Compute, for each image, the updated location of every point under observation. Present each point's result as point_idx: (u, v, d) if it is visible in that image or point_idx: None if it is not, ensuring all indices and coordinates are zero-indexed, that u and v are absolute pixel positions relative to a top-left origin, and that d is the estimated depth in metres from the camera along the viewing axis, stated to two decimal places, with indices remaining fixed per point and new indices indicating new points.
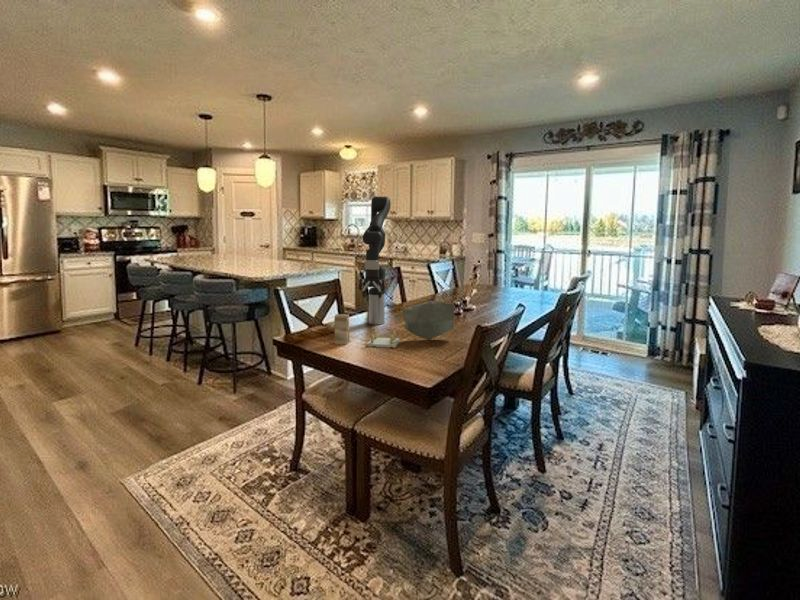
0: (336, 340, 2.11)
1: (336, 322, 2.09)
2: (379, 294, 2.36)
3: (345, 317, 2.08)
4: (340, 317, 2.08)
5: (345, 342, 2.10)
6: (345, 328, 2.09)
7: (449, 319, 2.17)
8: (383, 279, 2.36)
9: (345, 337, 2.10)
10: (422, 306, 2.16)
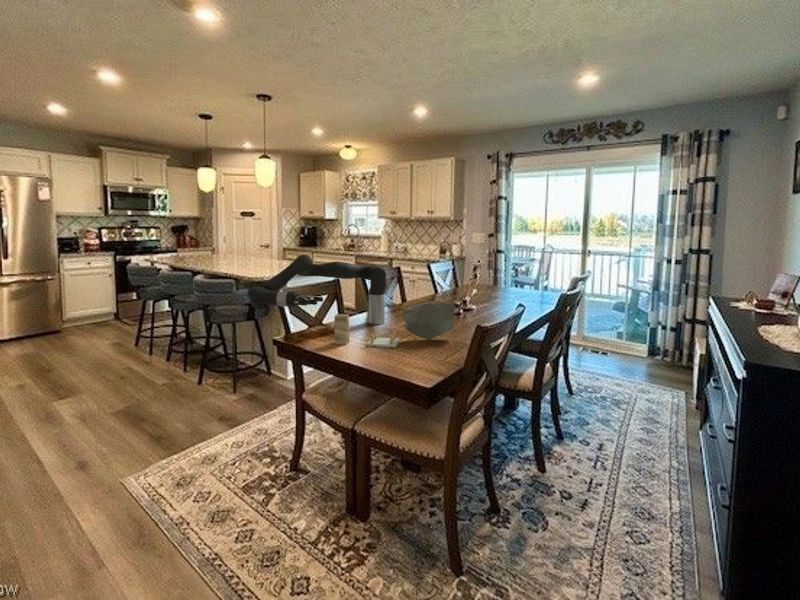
0: (336, 340, 2.11)
1: (336, 322, 2.09)
2: (312, 304, 2.06)
3: (345, 317, 2.08)
4: (340, 317, 2.08)
5: (345, 342, 2.10)
6: (345, 328, 2.09)
7: (449, 319, 2.17)
8: None
9: (345, 337, 2.10)
10: (422, 306, 2.16)
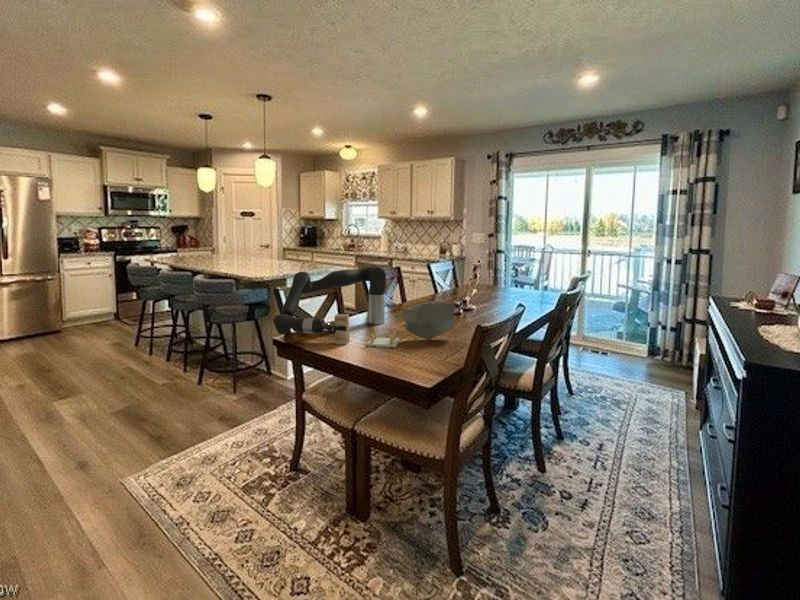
0: (336, 340, 2.11)
1: (336, 322, 2.09)
2: (341, 330, 2.09)
3: (345, 317, 2.08)
4: (340, 317, 2.08)
5: (345, 342, 2.10)
6: None
7: (449, 319, 2.17)
8: (323, 329, 2.06)
9: (345, 337, 2.10)
10: (422, 306, 2.16)
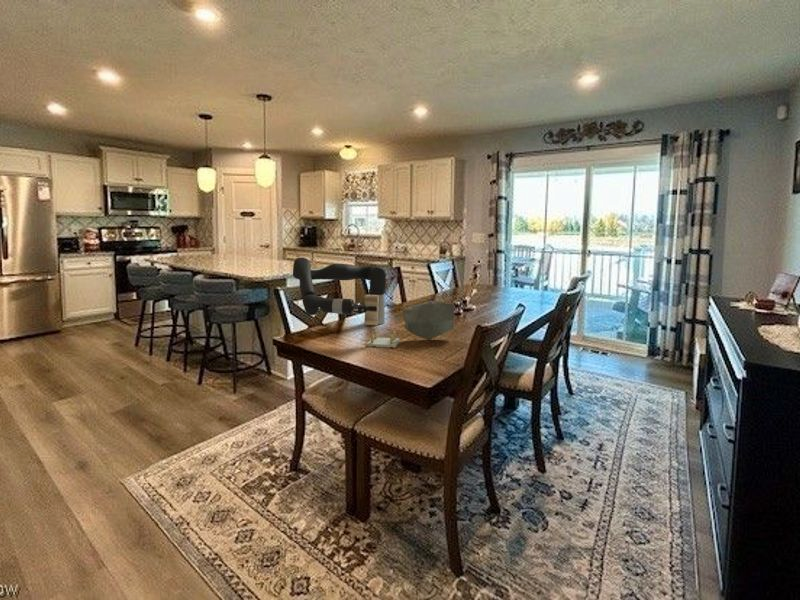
0: (366, 321, 2.09)
1: (366, 302, 2.07)
2: None
3: (375, 297, 2.06)
4: (370, 297, 2.06)
5: (375, 323, 2.08)
6: None
7: (449, 319, 2.17)
8: (353, 309, 2.04)
9: (375, 317, 2.08)
10: (422, 306, 2.16)
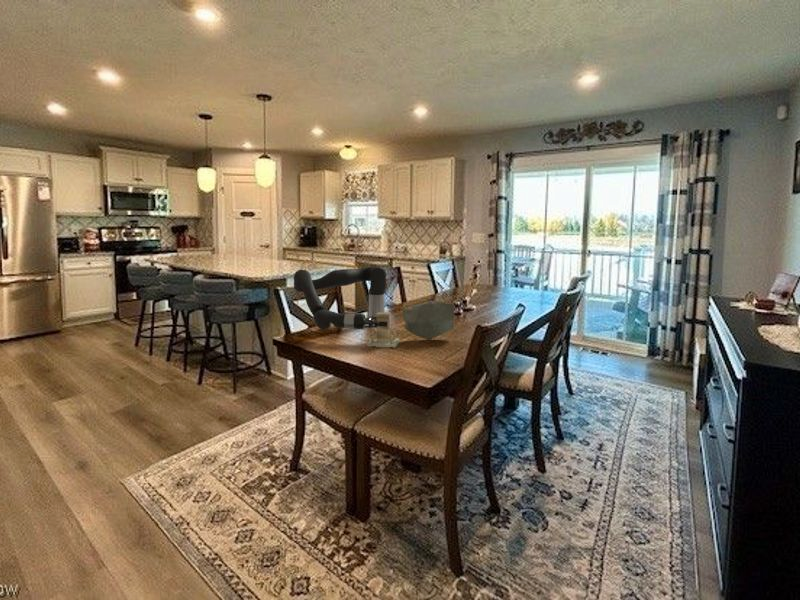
0: (378, 338, 2.10)
1: (378, 320, 2.09)
2: (382, 326, 2.07)
3: (387, 315, 2.08)
4: (382, 315, 2.08)
5: (387, 340, 2.10)
6: (387, 326, 2.09)
7: (449, 319, 2.17)
8: (364, 324, 2.06)
9: (387, 335, 2.09)
10: (422, 306, 2.16)
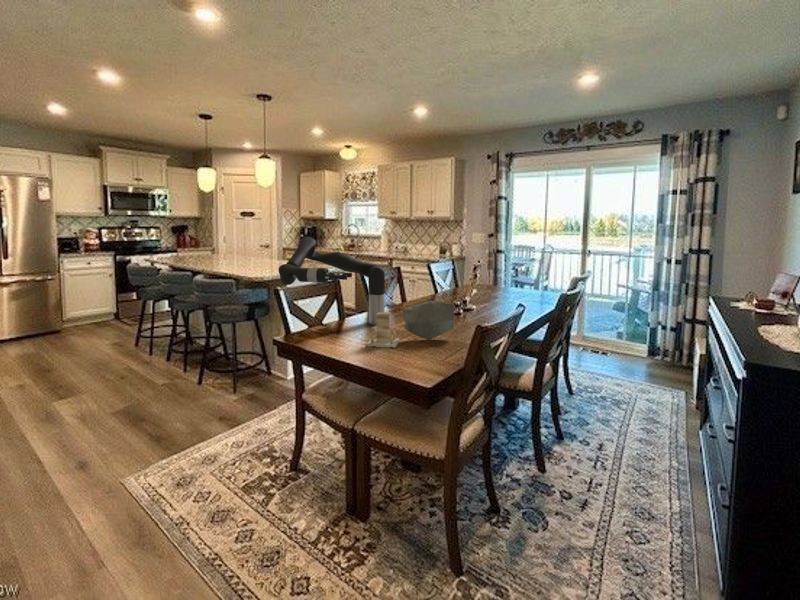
0: (378, 338, 2.10)
1: (378, 320, 2.09)
2: (342, 279, 2.11)
3: (387, 315, 2.08)
4: (382, 315, 2.08)
5: (387, 340, 2.10)
6: (387, 326, 2.09)
7: (449, 319, 2.17)
8: (325, 276, 2.10)
9: (387, 335, 2.09)
10: (422, 306, 2.16)
